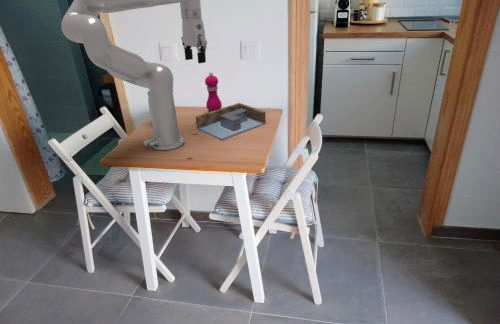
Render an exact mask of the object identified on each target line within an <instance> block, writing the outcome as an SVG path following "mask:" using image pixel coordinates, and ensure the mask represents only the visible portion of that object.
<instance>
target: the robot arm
mask: <svg viewBox="0 0 500 324" xmlns="http://www.w3.org/2000/svg"><path fill="white" fill-rule="evenodd" d="M178 3H179V5H180V6H179V8H180V16H181V20H182V21H181V22H182V23H181V25H182V26H181V29H182V31H181V32H182V36H181V41H182V46H183V50H184V57H185V60H186V61H190V60H193V56H194V55H193V48H196V50H197V53H196V54H197V55H196V56H197V62H198V64H205V63H206V62H207V61H206V59H207V57H206V52H207V44H208V41H207V39H206V33H205V31H206V30H205V25H204V21H203V17H202V6H201V0H73V1H72V3H71V4H70V6H69V8H68V9H67V11H66V13H65V14H64V15H63V18H62V20H61V25H60V26H61V31H62V33H63V35H64V36H65V38H67V40H69V41H71V42H74V43H79V44H82V45H83V46H84V49H85V53H86V54H87V57H88V59H89V60H90V61H91V62H92V63H93V64H94V65H95V66H97V67H99V68H100V69H102V70H105V71H107V73H108V74H109V75H111V76H112V77H113V78H116V79H118V80H120V81H123V82H126V83H129V84H131V85H135V86H137V87H140V88H141V87H142V88H145V89H148V91H149V97H148V96H147V98H148V99H147V102H148V108H149V113H150V120H151V125H152V130H153V134H152V135H151V138H150V139H146V140H143V141H142V142H143V145H144V146H145V147H146V146H150V147H152V148H153V149H154V150H157V151H171V150H175V149H178V148H180V147H182V146H183V145H184V143H185V139H184V137H182V136H180V129H179V126H178V125H179V124H178V117H177V112H176V104H175V99H174V74H173V72H172V71H171V69H170V68H169V67H168V66H166V65H164V64H162V63H157V62H149V61H145V60H144V59H143V58H142V57H141V56H140V55H139V54H136V53H134V52H131V51H128V50H126V49H124V48H121V47H119V46H118V45H116V44H114V43H112V42H111V40H110V37H109V35H108V31H107V28H106V26H105V24H104V23H103V21H102V20H101V19H100V18H98V17H99V15H100V13H101V14H102V13H103V14H112V13H113V14H114V13H119V12H124V11H130V10H137V9H139V10H140V9H144V8H152V7H157V6H164V5H170V4H171V5H172V4H178ZM192 47H193V48H192Z"/></svg>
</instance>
